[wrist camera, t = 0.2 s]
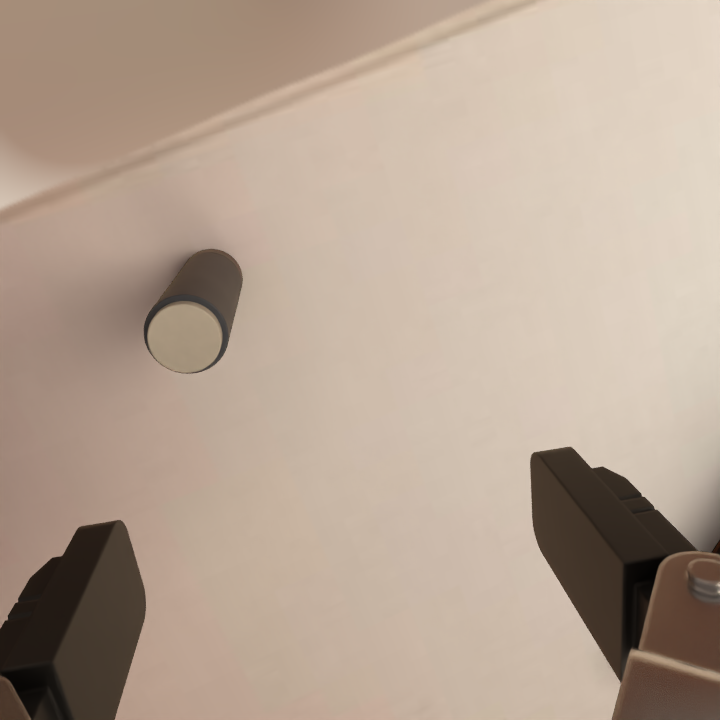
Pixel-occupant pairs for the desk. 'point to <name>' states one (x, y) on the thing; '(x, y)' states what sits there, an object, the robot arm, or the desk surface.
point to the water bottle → (195, 313)
